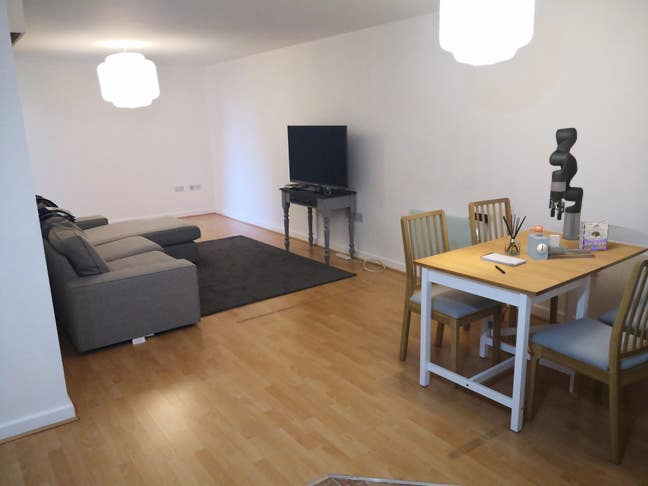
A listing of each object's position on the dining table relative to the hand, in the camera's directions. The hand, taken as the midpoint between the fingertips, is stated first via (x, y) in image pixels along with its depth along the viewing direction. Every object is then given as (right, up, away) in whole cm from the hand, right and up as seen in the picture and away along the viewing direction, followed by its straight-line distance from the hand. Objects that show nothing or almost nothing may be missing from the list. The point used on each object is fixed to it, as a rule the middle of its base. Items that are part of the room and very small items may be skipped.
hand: (555, 218), depth 278 cm
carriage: (+1, -18, +4) cm, 18 cm away
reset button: (-9, -7, +2) cm, 11 cm away
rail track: (+9, -21, +5) cm, 23 cm away
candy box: (+29, -18, +16) cm, 38 cm away
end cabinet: (-8, -22, +6) cm, 24 cm away
